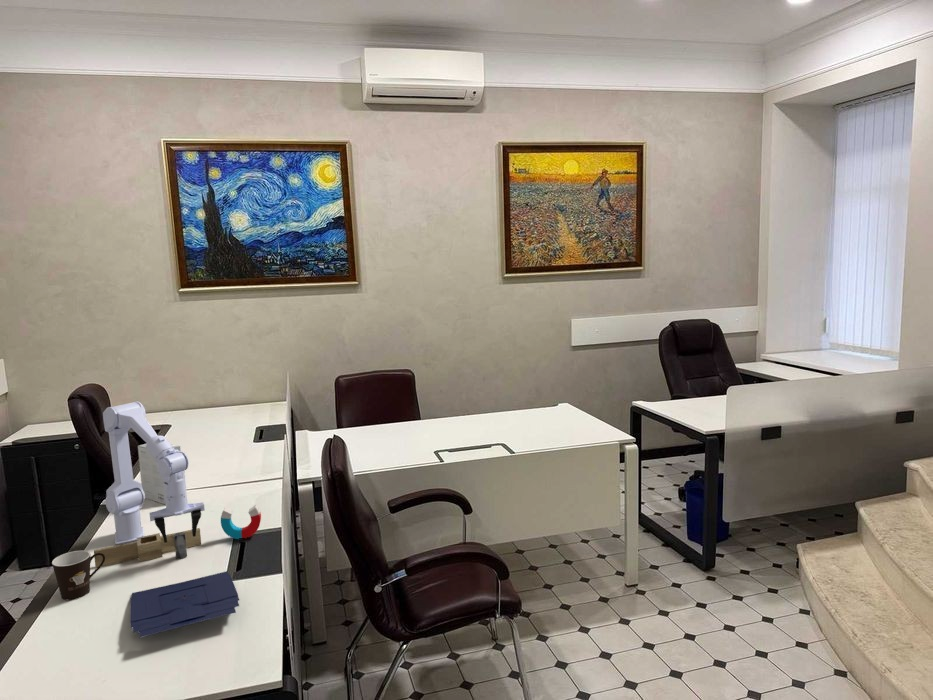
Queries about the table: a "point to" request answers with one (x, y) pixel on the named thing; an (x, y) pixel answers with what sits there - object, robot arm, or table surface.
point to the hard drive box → (151, 475)
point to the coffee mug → (74, 573)
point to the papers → (182, 604)
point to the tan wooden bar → (144, 548)
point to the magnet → (236, 531)
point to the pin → (180, 545)
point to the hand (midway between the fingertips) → (180, 538)
